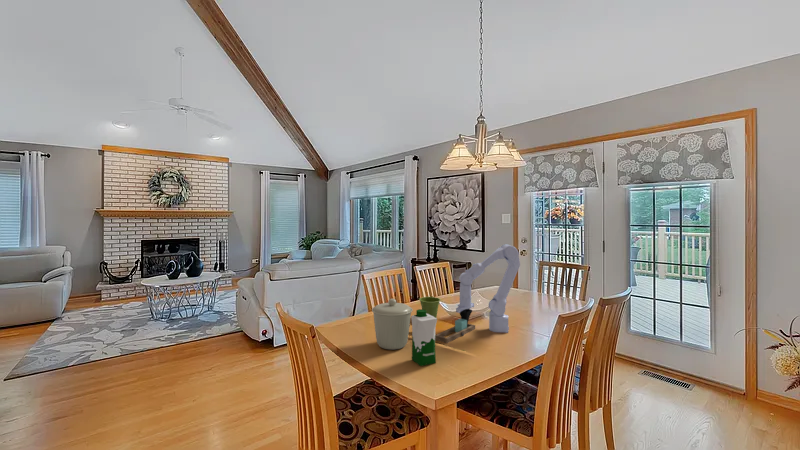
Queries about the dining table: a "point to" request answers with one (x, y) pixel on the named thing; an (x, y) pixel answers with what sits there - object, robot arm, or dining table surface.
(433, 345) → the milk carton
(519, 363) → the dining table surface
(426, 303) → the plant pot
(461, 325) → the teal block
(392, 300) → the canister
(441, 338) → the wooden tray
